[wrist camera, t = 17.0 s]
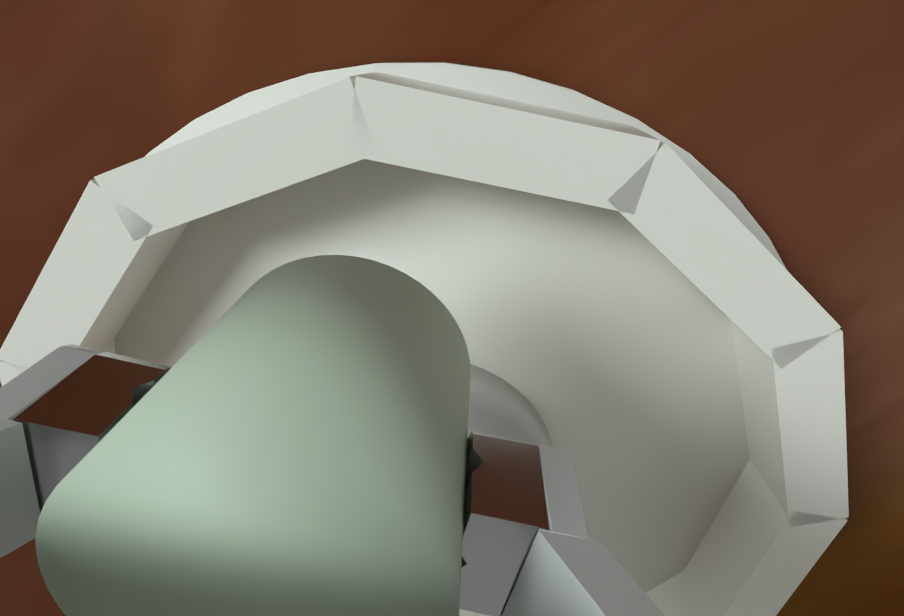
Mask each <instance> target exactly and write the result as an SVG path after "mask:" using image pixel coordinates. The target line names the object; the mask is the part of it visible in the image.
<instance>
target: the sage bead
mask: <svg viewBox="0 0 904 616" xmlns="http://www.w3.org/2000/svg"><path fill="white" fill-rule="evenodd" d="M470 378H471V371H470V358H469V353H468V349H467V345H466V342H465V339H464V337H463V334H462V332H461V330H460V328H459V326H458V324H457V322H456V321H455V319H454V317H453V316H452V315H451V313H450V312H449V310H448V309H447V308H446V306H445V305H444V304H443V303H442V302H441V301H440V300H439V299H438V298H437V297H436V296H435V295H434V294H433V293H432V292H431V291H430V290H428V289H427V288H426V287H425V286H424V285H422V284H421V283H420V282H418V281H417V280H415V279H413V278H412V277H410V276H409V275H407V274H406V273H403V272H401V271H399V270H397V269H395V268H393V267H391V266H389V265H386V264H383V263H380V262H377V261H374V260H370V259H365V258H361V257H356V256H347V255H318V256H312V257H306V258H301V259H298V260H295V261H292V262H288V263H286V264H284V265H282V266H280V267H277V268H275V269H273V270H272V271H270V272H269V273H267V274H266V275H264V276H263V277H261V278H260V279H259V280H258V281H256V282H255V283H254V284H253V285H252V286H251V287H250V288H249V289H248V290H247V291H246V292H245V293H244V294H243V295H242V296H241V297H240V298H239V299H238V300H237V301H236V302H235V303H234V304H233V305H232V306H231V307H230V308H229V309H228V310H227V311H226V313H225V314H224V315H223V316H222V317H221V318H220V319H219V320H218V321H217V322H216V323H215V324H214V325H213V326H212V327H211V328H210V329H209V330H208V331H207V332H206V333H205V334H204V335H203V336H202V337H201V338H200V339H199V340H198V341H197V342H196V343H195V344H194V345H193V346H192V347H191V348H190V349H189V350H188V351H187V352H186V353H185V355H184V356H183V357H182V358H181V359H180V360H179V361H178V362H177V363H176V364H175V365H174V366H173V367H172V368H171V369H170V370H169V371H168V372H167V373H166V374H165V375H164V376H163V377H162V378H161V379H160V380H159V381H158V382H157V383H156V384H155V385H154V386H153V387H152V388H151V389H150V390H149V391H148V392H147V393H146V394H145V396H144V397H143V398H142V399H141V400H140V401H139V402H138V403H137V404H136V405H135V406H134V407H133V408H132V409H131V410H130V411H129V412H128V413H127V414H126V415H125V416H124V417H123V418H122V419H121V420H120V421H119V422H118V423H117V424H116V425H115V426H114V427H113V428H112V429H111V430H110V431H109V432H108V433H107V434H106V435H105V436H104V438H103V439H102V440H101V441H100V442H99V443H98V444H97V445H96V446H95V447H94V448H93V449H92V450H91V451H90V452H89V453H88V454H87V455H86V456H85V457H84V458H83V459H82V460H81V461H80V462H79V463H78V464H77V465H76V466H75V467H74V468H73V469H72V470H71V471H70V472H69V473H68V474H67V475H66V476H65V477H64V479H63V480H62V481H61V482H60V483H59V484H58V485H57V486H56V487H55V489H54V490H53V492H52V493H51V494H50V496H49V497H48V498H47V500H46V502H45V504H44V506H43V509H42V511H41V513H40V516H39V518H38V524H37V529H36V535H35V538H36V555H37V559H38V563H39V567H40V572H41V574H42V576H43V579H44V581H45V583H46V586H47V588H48V590H49V592H50V593H51V595H52V596H53V598H54V600H55V601H56V603H57V605H58V606H59V608H60V609H61V610H62V611H63V612H64V614H65V615H66V616H459V607H460V587H461V566H462V545H463V524H464V503H465V482H466V461H467V440H468V419H469V398H470Z"/></svg>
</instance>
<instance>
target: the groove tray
mask: <svg viewBox="0 0 904 616" xmlns="http://www.w3.org/2000/svg"><path fill="white" fill-rule="evenodd" d="M94 178H95V179H93V180H90V181H89V183H88V185H87V187H86V189H85V191H84V193H83V195H82V197H81V198H80V200H79V202H78V204H77V206H76V208H75V210H74V212H73V214H72V215H71V217H70V219H69V221H68V223H67V225H66V227H65V229H64V230H63V232H62V234H61V236H60V238H59V240H58V242H57V244H56V246H55V247H54V249H53V251H52V253H51V255H50V257H49V259H48V261H47V263H46V264H45V266H44V268H43V270H42V272H41V274H40V276H39V278H38V279H37V281H36V283H35V285H34V287H33V289H32V291H31V293H30V295H29V296H28V298H27V300H26V302H25V304H24V306H23V308H22V310H21V311H20V313H19V315H18V317H17V319H16V321H15V323H14V325H13V327H12V328H11V330H10V332H9V334H8V336H7V338H6V340H5V342H4V344H3V345H2V347H1V349H0V380H1V384H2V386H4V385H5V384H7V383H8V382H9V381H11V380H12V379H14V378H15V377H17V376H18V375H19V374H21V373H22V372H24V371H25V370H27V369H28V368H30V367H31V366H32V365H34V364H35V363H37V362H38V361H40V360H41V359H42V358H44V357H45V356H47V355H48V354H50V353H51V352H52V351H54V350H55V349H57V348H58V347H60V346H65V345H71V344H73V345H77V346H82V347H86V348H91V349H95V350H99V351H103V352H110V353H114V354H118V355H123V356H127V357H131V358H135V359H140V360H144V361H148V362H152V363H157V364H161V365H165V366H169V367H173V366H174V365H175V364H176V363H177V362H178V361H179V360H180V359H181V358H182V357H183V356H184V355H185V353H186V352H187V351H188V350H189V349H190V348H191V347H192V346H193V345H194V344H195V343H196V342H197V341H198V340H199V339H200V338H201V337H202V336H203V335H204V334H205V333H206V332H207V331H208V330H209V329H210V328H211V327H212V326H213V325H214V324H215V323H216V322H217V321H218V320H219V319H220V318H221V317H222V316H223V315H224V314H225V313H226V311H227V310H228V309H229V308H230V307H231V306H232V305H233V304H234V303H235V302H236V301H237V300H238V299H239V298H240V297H241V296H242V295H243V294H244V293H245V292H246V291H247V290H248V289H249V288H250V287H251V286H252V285H253V284H254V283H255V282H256V281H258V280H259V279H260V278H261V277H263V276H264V275H266V274H267V273H269V272H270V271H272V270H273V269H275V268H277V267H280V266H282V265H284V264H286V263H288V262H292V261H295V260H298V259H301V258H306V257H312V256H318V255H347V256H356V257H361V258H365V259H370V260H374V261H377V262H380V263H383V264H386V265H389V266H391V267H393V268H395V269H397V270H399V271H401V272H403V273H406V274H407V275H409V276H410V277H412V278H413V279H415V280H417V281H418V282H420V283H421V284H422V285H424V286H425V287H426V288H427V289H428V290H430V291H431V292H432V293H433V294H434V295H435V296H436V297H437V298H438V299H439V300H440V301H441V302H442V303H443V304H444V305H445V306H446V308H447V309H448V310H449V312H450V313H451V315H452V316H453V317H454V319H455V321H456V322H457V324H458V326H459V328H460V330H461V332H462V334H463V337H464V339H465V342H466V345H467V349H468V353H469V358H470V371H471V378H470V398H469V419H468V437H469V435H470V433H471V431H474V432H479V433H484V434H489V435H493V436H498V437H503V438H508V439H513V440H518V441H523V442H527V443H532V444H536V443H537V444H542V445H547V446H553V447H558V448H563V449H568V450H569V452H570V453H571V454H572V458H573V462H574V467H575V472H576V476H577V481H578V485H579V490H580V494H581V499H582V503H583V508H584V513H585V517H586V522H587V526H588V531H589V535H590V539H592V540H597V541H601V542H602V543H603V545H604V546H605V547H606V548H607V549H608V550H609V552H610V553H611V554H612V555H613V556H614V557H615V559H616V560H617V561H618V562H619V563H620V564H621V565H622V567H623V568H624V569H625V570H626V571H627V572H628V574H629V575H630V576H631V577H632V578H633V579H634V580H635V582H636V583H637V584H638V585H639V586H640V587H641V589H642V590H643V591H644V592H645V593H646V594H647V595H648V597H649V598H650V599H651V600H652V601H653V602H654V604H655V605H656V606H657V607H658V608H659V609H660V611H661V612H662V613H663V614H664V615H665V616H776V615H777V614H778V612H779V611H780V610H781V608H782V607H783V606H784V604H785V603H786V602H787V600H788V599H789V598H790V596H791V595H792V594H793V592H794V591H795V590H796V588H797V587H798V586H799V585H800V583H801V582H802V581H803V579H804V578H805V577H806V575H807V574H808V573H809V571H810V570H811V569H812V567H813V566H814V565H815V563H816V562H817V561H818V559H819V558H820V557H821V555H822V554H823V553H824V551H825V550H826V549H827V547H828V546H829V545H830V543H831V542H832V541H833V539H834V538H835V537H836V535H837V534H838V533H839V531H840V530H841V529H842V527H843V526H844V525H845V523H846V522H847V521H848V520H847V519H846V518H847V517H849V506H848V475H847V444H846V413H845V383H844V352H843V331H842V330H841V329H839V328H841V327H840V325H839V324H838V323H837V322H836V321H835V320H834V319H833V318H832V317H831V316H830V315H829V314H828V313H827V312H826V311H825V310H824V309H823V308H822V307H821V306H820V304H819V303H818V302H817V301H816V300H815V299H814V298H813V297H812V296H811V295H810V294H809V293H808V292H807V291H806V290H805V289H804V288H803V287H802V286H801V285H800V283H799V282H798V281H797V280H796V279H795V278H794V277H793V276H792V275H791V274H790V273H789V272H788V271H787V269H786V268H785V266H784V264H783V262H782V260H781V258H780V257H779V255H778V253H777V251H776V249H775V247H774V246H773V244H772V242H771V240H770V238H769V237H768V236H767V234H766V233H765V232H764V231H763V229H762V228H761V227H760V226H759V224H758V223H757V222H756V221H755V219H754V218H753V217H752V216H751V214H750V213H749V212H748V211H747V209H746V208H745V207H744V206H743V204H742V203H741V202H740V200H739V199H738V198H737V197H736V195H735V194H734V193H733V192H732V191H730V190H729V189H728V188H727V187H726V186H725V185H724V184H723V183H722V182H721V181H719V180H718V179H717V178H716V177H715V176H714V175H713V174H712V173H711V172H709V171H708V170H707V169H706V168H705V167H704V166H703V165H702V164H701V163H700V162H698V161H697V160H696V159H695V158H694V157H693V156H692V155H691V154H689V153H688V152H686V151H685V150H683V149H682V148H680V147H679V146H677V145H676V144H674V143H673V142H671V141H670V140H668V139H667V138H665V137H663V136H662V135H660V134H659V133H657V132H656V131H654V130H653V129H651V128H650V127H648V126H647V125H645V124H644V123H642V122H641V121H639V120H638V119H636V118H633V117H631V116H629V115H627V114H625V113H622V112H620V111H618V110H616V109H614V108H611V107H609V106H607V105H605V104H603V103H601V102H598V101H596V100H594V99H592V98H590V97H587V96H585V95H583V94H581V93H579V92H576V91H574V90H572V89H569V88H566V87H562V86H559V85H555V84H552V83H549V82H545V81H542V80H538V79H535V78H531V77H528V76H524V75H521V74H518V73H514V72H511V71H505V70H498V69H490V68H483V67H476V66H469V65H462V64H455V63H447V62H409V63H375V64H368V65H362V66H355V67H349V68H342V69H336V70H329V71H323V72H316V73H310V74H306V75H303V76H300V77H297V78H293V79H290V80H287V81H284V82H281V83H278V84H274V85H271V86H268V87H265V88H262V89H259V90H255V91H252V92H249V93H247V94H245V95H243V96H241V97H239V98H237V99H235V100H233V101H231V102H229V103H227V104H225V105H223V106H221V107H219V108H217V109H215V110H213V111H211V112H209V113H207V114H205V115H203V116H201V117H199V118H197V119H195V120H193V121H192V122H190V123H189V124H188V125H186V126H185V127H183V128H182V129H181V130H179V131H178V132H177V133H175V134H174V135H172V136H171V137H170V138H168V139H167V140H166V141H164V142H163V143H161V144H160V145H159V146H157V147H156V148H154V149H153V150H152V151H150V152H149V153H148V154H147V155H146V156H145V157H144V158H141V159H139V160H136V161H134V162H131V163H128V164H126V165H123V166H121V167H118V168H116V169H113V170H111V171H108V172H106V173H103V174H100V175H98V176H95V177H94ZM459 616H488V615H484V614H480V613H475V612H471V611H466V610H462V609H459Z"/></svg>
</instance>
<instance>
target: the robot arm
mask: <svg viewBox="0 0 904 616" xmlns="http://www.w3.org/2000/svg"><path fill="white" fill-rule="evenodd" d="M171 368H172V367H169V366H165V365H161V364H157V363H152V362H148V361H144V360H140V359H135V358H131V357H127V356H123V355H118V354H114V353H110V352H103V351H99V350H95V349H91V348H86V347H82V346H77V345H73V344H71V345H65V346H60V347H58V348H57V349H55V350H54V351H52V352H51V353H50V354H48V355H47V356H45V357H44V358H42V359H41V360H40V361H38V362H37V363H35V364H34V365H32V366H31V367H30V368H28V369H27V370H25V371H24V372H22V373H21V374H19V375H18V376H17V377H15V378H14V379H12V380H11V381H9V382H8V383H7V384H5V385H4V386H2V387H1V388H0V558H1V557H3V556H5V555H6V554H8V553H10V552H12V551H13V550H15V549H17V548H18V547H20V546H22V545H24V544H25V543H27V542H29V541H31V540H32V539H34V538H35V535H36V529H37V524H38V518H39V516H40V513H41V511H42V509H43V506H44V504H45V502H46V500H47V498H48V497H49V496H50V494H51V493H52V492H53V490H54V489H55V487H56V486H57V485H58V484H59V483H60V482H61V481H62V480H63V479H64V477H65V476H66V475H67V474H68V473H69V472H70V471H71V470H72V469H73V468H74V467H75V466H76V465H77V464H78V463H79V462H80V461H81V460H82V459H83V458H84V457H85V456H86V455H87V454H88V453H89V452H90V451H91V450H92V449H93V448H94V447H95V446H96V445H97V444H98V443H99V442H100V441H101V440H102V439H103V438H104V436H105V435H106V434H107V433H108V432H109V431H110V430H111V429H112V428H113V427H114V426H115V425H116V424H117V423H118V422H119V421H120V420H121V419H122V418H123V417H124V416H125V415H126V414H127V413H128V412H129V411H130V410H131V409H132V408H133V407H134V406H135V405H136V404H137V403H138V402H139V401H140V400H141V399H142V398H143V397H144V396H145V394H146V393H147V392H148V391H149V390H150V389H151V388H152V387H153V386H154V385H155V384H156V383H157V382H158V381H159V380H160V379H161V378H162V377H163V376H164V375H165V374H166V373H167V372H168V371H169V370H170V369H171ZM459 609H462V610H466V611H471V612H475V613H480V614H484V615H488V616H665V615H664V614H663V613H662V612H661V611H660V609H659V608H658V607H657V606H656V605H655V604H654V602H653V601H652V600H651V599H650V598H649V597H648V595H647V594H646V593H645V592H644V591H643V590H642V589H641V587H640V586H639V585H638V584H637V583H636V582H635V580H634V579H633V578H632V577H631V576H630V575H629V574H628V572H627V571H626V570H625V569H624V568H623V567H622V565H621V564H620V563H619V562H618V561H617V560H616V559H615V557H614V556H613V555H612V554H611V553H610V552H609V550H608V549H607V548H606V547H605V546H604V545H603V543H602V542H601V541H597V540H592V539H590V535H589V531H588V526H587V522H586V517H585V513H584V508H583V503H582V499H581V494H580V490H579V485H578V481H577V476H576V472H575V467H574V462H573V458H572V454H571V453H570V452H569V450H568V449H563V448H558V447H553V446H547V445H542V444H537V443H536V444H532V443H527V442H523V441H518V440H513V439H508V438H503V437H498V436H493V435H489V434H484V433H479V432H474V431H471V433H470V435H469V437H468V440H467V461H466V482H465V503H464V524H463V545H462V566H461V587H460V607H459Z"/></svg>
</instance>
